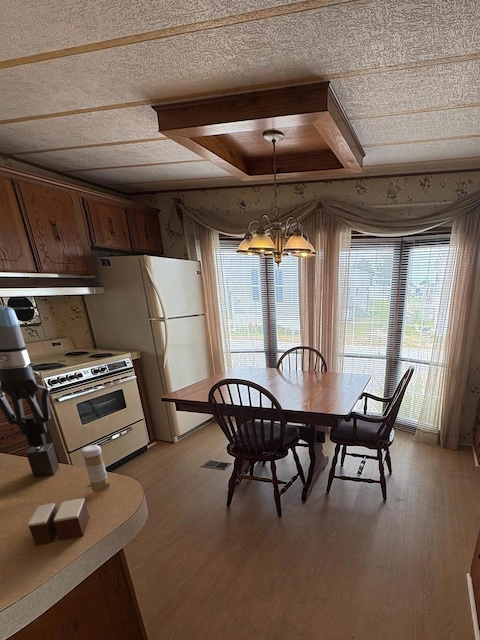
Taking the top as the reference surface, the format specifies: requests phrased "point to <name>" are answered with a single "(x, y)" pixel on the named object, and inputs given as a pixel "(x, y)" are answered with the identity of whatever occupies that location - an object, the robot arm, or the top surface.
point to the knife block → (43, 461)
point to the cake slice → (43, 524)
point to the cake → (71, 519)
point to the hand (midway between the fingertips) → (38, 443)
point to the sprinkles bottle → (95, 467)
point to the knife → (33, 431)
